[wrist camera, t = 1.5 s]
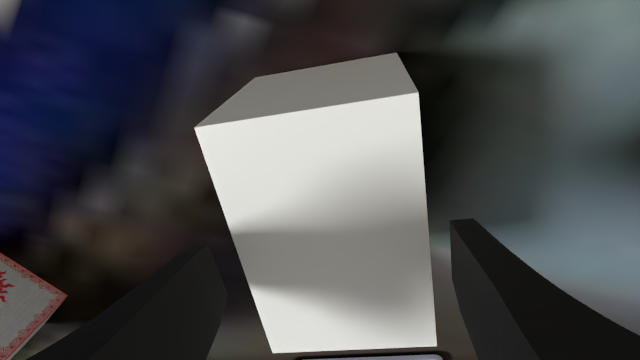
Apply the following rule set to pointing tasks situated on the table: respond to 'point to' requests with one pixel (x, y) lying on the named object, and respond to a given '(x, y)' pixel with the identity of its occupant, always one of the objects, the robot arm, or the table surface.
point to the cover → (328, 204)
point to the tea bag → (23, 305)
